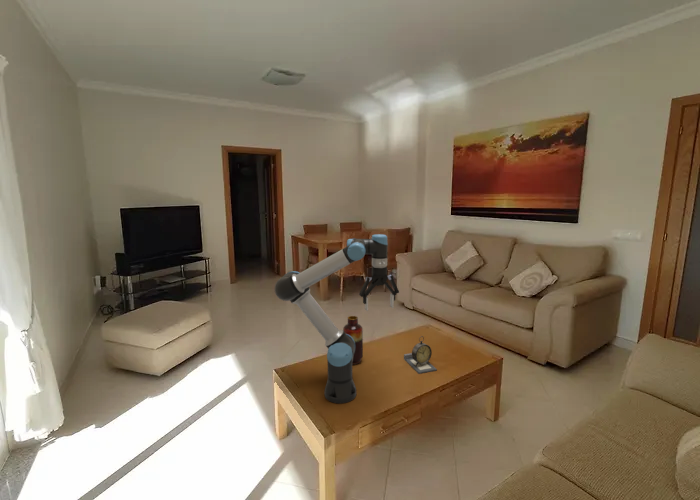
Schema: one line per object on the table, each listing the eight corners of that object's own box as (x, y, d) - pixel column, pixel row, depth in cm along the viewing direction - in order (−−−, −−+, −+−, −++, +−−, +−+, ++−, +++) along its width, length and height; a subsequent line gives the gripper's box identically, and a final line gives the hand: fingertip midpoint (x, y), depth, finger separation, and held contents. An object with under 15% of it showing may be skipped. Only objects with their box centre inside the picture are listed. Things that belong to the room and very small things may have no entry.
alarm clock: (416, 368, 183) (416, 339, 181) (410, 363, 188) (410, 336, 185) (432, 363, 188) (432, 336, 185) (425, 359, 193) (426, 332, 190)
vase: (341, 364, 190) (340, 320, 186) (346, 355, 201) (345, 313, 197) (360, 366, 188) (360, 321, 184) (364, 357, 198) (364, 315, 194)
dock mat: (418, 374, 179) (418, 368, 178) (403, 359, 195) (403, 354, 195) (436, 370, 182) (437, 365, 182) (420, 356, 199) (420, 351, 198)
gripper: (357, 269, 156) (357, 313, 159) (406, 266, 164) (405, 308, 167) (352, 266, 163) (352, 308, 166) (399, 263, 171) (398, 303, 174)
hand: (379, 308), depth 167 cm, fingers open, 13 cm apart
